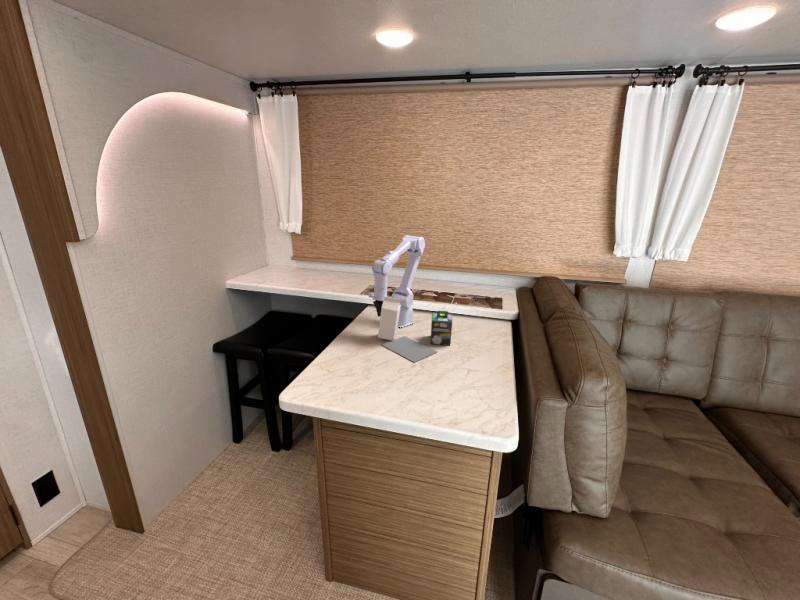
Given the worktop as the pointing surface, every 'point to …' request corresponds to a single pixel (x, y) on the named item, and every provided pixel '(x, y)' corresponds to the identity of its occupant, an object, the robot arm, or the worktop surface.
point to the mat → (409, 349)
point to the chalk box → (441, 328)
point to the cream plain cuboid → (389, 318)
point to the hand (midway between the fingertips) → (379, 316)
